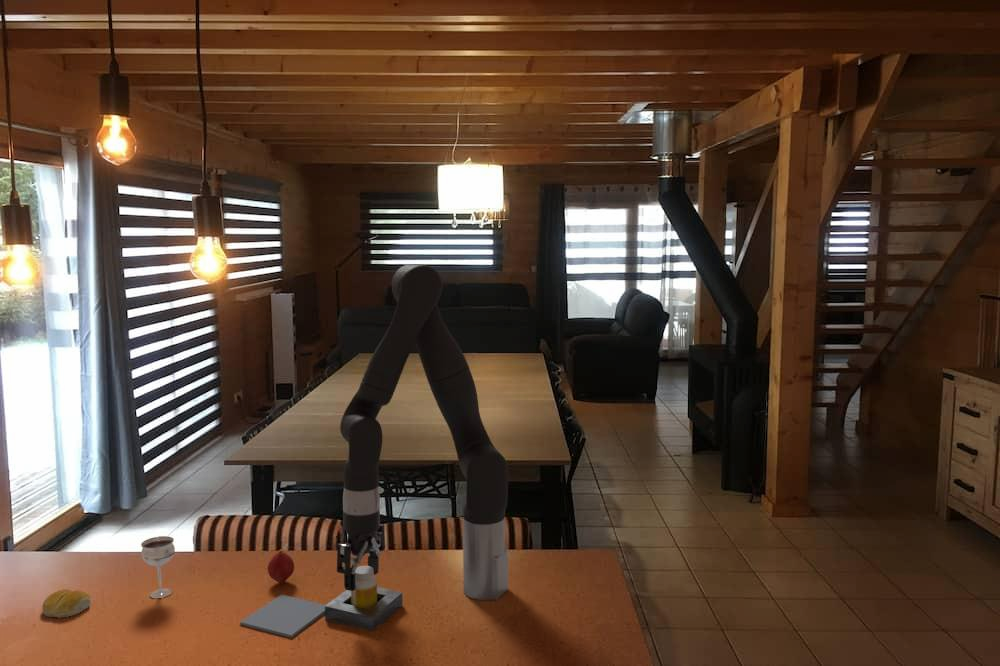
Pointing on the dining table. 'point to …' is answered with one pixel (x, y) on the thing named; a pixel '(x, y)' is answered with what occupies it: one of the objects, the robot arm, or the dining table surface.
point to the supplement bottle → (364, 588)
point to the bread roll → (65, 603)
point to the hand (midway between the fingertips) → (362, 581)
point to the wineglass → (158, 558)
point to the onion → (280, 567)
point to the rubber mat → (285, 616)
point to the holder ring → (363, 609)
